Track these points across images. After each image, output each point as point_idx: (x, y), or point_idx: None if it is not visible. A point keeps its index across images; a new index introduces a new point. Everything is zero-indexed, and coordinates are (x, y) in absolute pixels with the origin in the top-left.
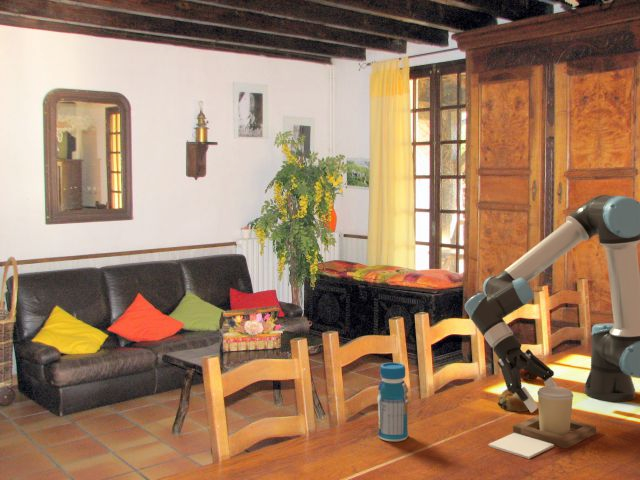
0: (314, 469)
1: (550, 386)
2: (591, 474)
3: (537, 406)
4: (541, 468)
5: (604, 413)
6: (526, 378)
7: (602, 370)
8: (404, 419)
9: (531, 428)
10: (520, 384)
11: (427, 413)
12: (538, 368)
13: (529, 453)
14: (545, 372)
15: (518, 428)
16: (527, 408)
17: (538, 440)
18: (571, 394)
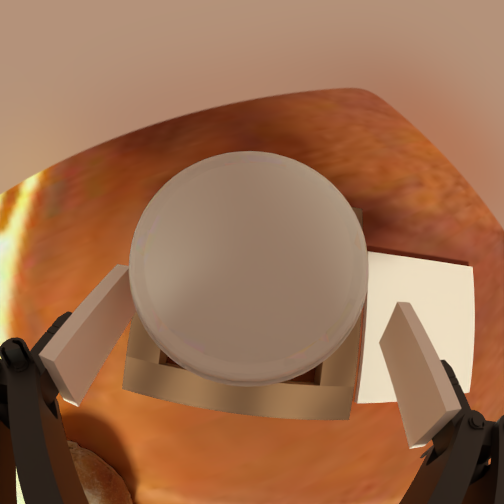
0: None
1: (156, 327)
2: (428, 139)
3: (407, 305)
4: (479, 224)
5: (14, 243)
6: None
7: None
8: None
9: (332, 356)
10: (466, 432)
11: None
12: (47, 473)
13: (459, 275)
14: (29, 403)
15: (350, 397)
16: (92, 454)
17: (371, 304)
18: (242, 152)
